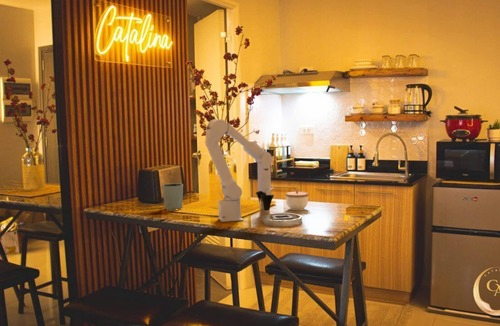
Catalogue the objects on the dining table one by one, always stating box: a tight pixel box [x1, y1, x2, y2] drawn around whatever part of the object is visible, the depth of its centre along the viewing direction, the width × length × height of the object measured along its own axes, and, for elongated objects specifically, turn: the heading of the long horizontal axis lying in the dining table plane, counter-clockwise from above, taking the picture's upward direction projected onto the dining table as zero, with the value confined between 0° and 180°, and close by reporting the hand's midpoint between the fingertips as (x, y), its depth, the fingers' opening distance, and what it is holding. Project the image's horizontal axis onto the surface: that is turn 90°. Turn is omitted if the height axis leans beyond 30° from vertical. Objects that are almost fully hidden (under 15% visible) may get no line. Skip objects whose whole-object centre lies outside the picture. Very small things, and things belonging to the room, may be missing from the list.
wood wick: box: [258, 199, 271, 218], centre depth 227 cm, size 4×2×8 cm, turn 103°
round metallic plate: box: [261, 212, 303, 228], centre depth 215 cm, size 16×16×2 cm
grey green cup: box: [161, 182, 184, 211], centre depth 250 cm, size 10×10×12 cm
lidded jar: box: [285, 189, 309, 212], centre depth 243 cm, size 11×11×9 cm
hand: (264, 208), depth 227 cm, fingers open, 7 cm apart
